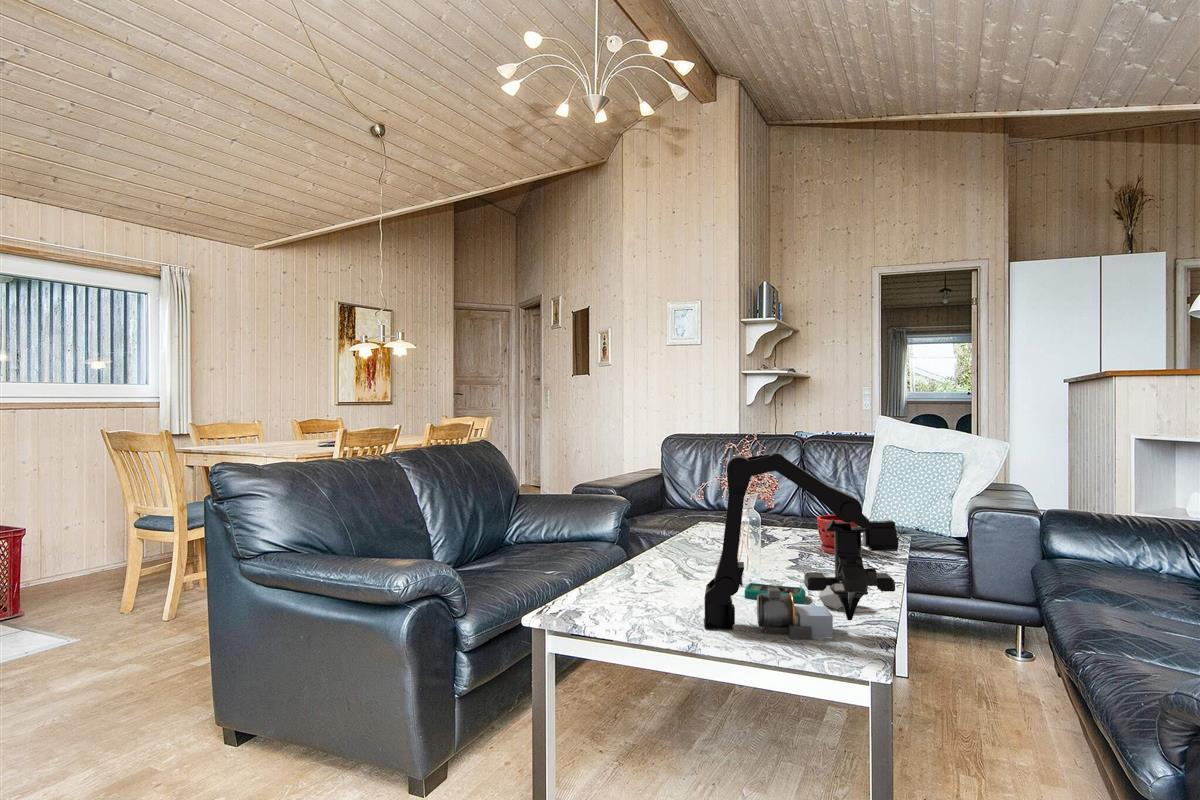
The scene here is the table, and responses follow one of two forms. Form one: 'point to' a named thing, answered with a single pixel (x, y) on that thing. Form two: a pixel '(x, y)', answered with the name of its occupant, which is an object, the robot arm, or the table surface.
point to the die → (830, 597)
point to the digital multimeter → (756, 589)
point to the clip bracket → (800, 632)
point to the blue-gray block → (815, 620)
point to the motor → (775, 611)
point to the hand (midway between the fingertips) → (849, 619)
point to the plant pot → (828, 532)
